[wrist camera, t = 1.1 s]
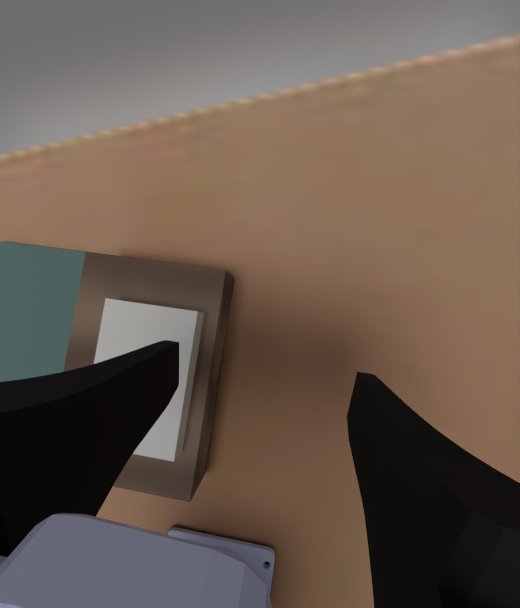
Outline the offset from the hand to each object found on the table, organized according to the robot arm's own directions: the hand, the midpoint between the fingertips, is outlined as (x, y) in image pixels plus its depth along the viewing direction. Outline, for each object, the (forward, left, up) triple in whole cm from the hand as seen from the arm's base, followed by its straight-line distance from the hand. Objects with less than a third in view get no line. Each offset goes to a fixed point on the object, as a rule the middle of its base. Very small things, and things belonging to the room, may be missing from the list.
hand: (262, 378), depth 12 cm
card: (-2, +8, -7) cm, 11 cm away
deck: (-2, +9, -11) cm, 14 cm away
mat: (-2, +19, -11) cm, 22 cm away
